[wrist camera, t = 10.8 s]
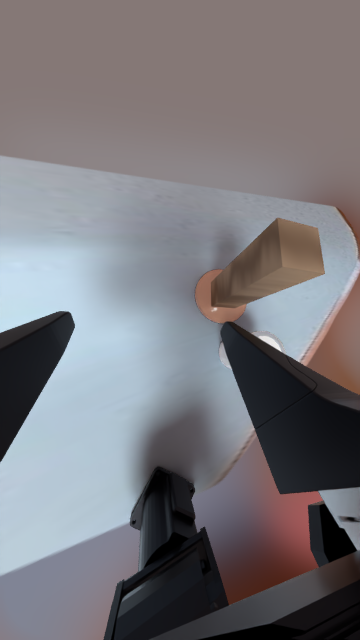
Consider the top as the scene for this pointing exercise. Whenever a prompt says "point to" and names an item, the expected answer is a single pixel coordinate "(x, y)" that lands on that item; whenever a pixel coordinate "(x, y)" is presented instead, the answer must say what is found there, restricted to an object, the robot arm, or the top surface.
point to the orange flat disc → (205, 301)
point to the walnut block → (270, 264)
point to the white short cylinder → (263, 335)
